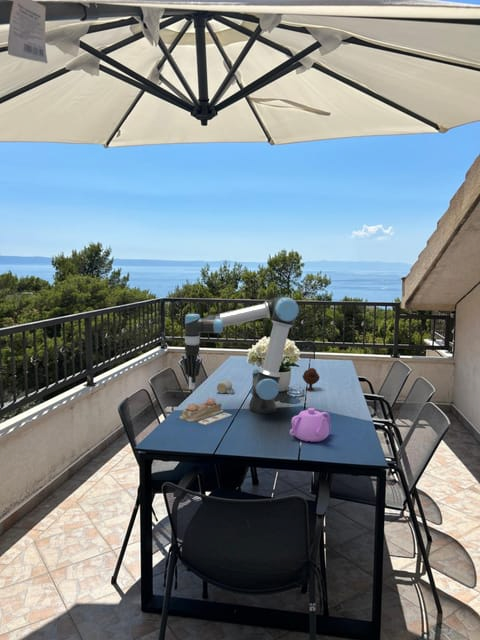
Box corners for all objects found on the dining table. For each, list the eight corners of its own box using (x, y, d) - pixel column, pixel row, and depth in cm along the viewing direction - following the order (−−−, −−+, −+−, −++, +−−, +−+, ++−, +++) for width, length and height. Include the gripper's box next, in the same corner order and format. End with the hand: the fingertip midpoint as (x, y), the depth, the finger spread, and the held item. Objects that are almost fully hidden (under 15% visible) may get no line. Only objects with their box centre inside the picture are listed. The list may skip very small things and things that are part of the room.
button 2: (216, 405, 251) (216, 399, 251) (210, 407, 248) (210, 401, 248) (210, 404, 254) (210, 397, 254) (204, 405, 251) (204, 399, 251)
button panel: (223, 412, 252) (223, 404, 251) (192, 422, 234) (192, 413, 234) (209, 408, 258) (209, 400, 258) (179, 418, 241) (179, 409, 240)
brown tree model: (321, 389, 302) (322, 367, 300) (314, 393, 292) (315, 370, 291) (306, 387, 307) (307, 365, 306) (299, 390, 298) (300, 368, 296)
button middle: (207, 411, 246) (207, 405, 246) (201, 413, 243) (201, 407, 242) (201, 410, 249) (201, 403, 249) (195, 412, 246) (195, 405, 245)
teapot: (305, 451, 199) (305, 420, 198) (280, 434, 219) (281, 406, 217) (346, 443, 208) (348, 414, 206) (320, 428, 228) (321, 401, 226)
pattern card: (231, 415, 246) (231, 414, 246) (205, 424, 231) (205, 423, 231) (224, 413, 249) (224, 412, 249) (198, 422, 234) (198, 421, 234)
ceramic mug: (216, 393, 289) (216, 381, 288) (221, 390, 297) (221, 378, 296) (231, 395, 286) (231, 383, 285) (236, 392, 293) (236, 380, 292)
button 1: (198, 411, 241) (198, 405, 240) (192, 413, 237) (192, 407, 237) (192, 409, 244) (192, 403, 243) (185, 411, 240) (185, 405, 240)
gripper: (206, 344, 235) (205, 389, 238) (188, 341, 244) (188, 385, 246) (195, 346, 230) (195, 392, 232) (178, 343, 238) (177, 387, 241)
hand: (191, 388), depth 239 cm, fingers closed
